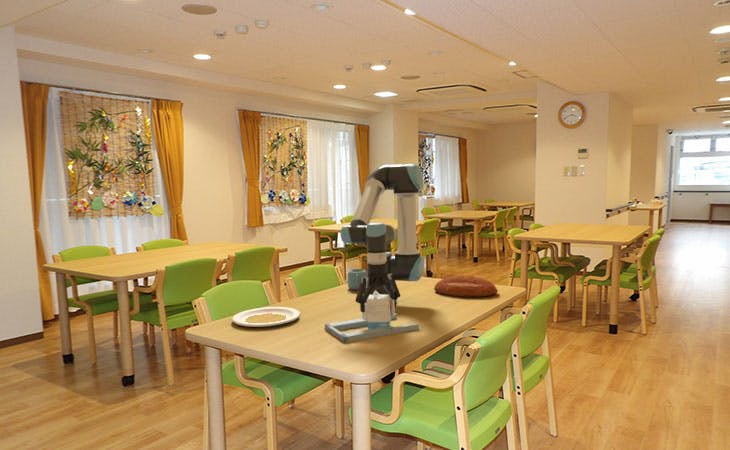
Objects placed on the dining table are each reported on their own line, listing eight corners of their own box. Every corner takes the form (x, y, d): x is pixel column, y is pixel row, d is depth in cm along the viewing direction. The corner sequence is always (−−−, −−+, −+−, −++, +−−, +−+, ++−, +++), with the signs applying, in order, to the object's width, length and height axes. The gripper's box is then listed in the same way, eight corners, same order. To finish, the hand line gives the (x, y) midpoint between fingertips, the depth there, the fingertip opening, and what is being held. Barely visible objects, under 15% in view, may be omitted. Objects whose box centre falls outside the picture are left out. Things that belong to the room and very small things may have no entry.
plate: (275, 308, 234) (275, 303, 234) (313, 319, 214) (313, 313, 214) (220, 321, 214) (220, 316, 214) (256, 334, 194) (256, 328, 194)
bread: (493, 300, 237) (493, 282, 236) (428, 296, 250) (428, 278, 249) (501, 290, 258) (501, 273, 257) (440, 286, 270) (439, 270, 269)
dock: (324, 329, 198) (324, 324, 198) (394, 317, 212) (394, 313, 212) (344, 342, 181) (344, 337, 181) (419, 329, 195) (419, 324, 194)
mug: (368, 292, 261) (367, 273, 260) (346, 292, 261) (346, 273, 260) (368, 286, 276) (367, 268, 275) (348, 286, 276) (347, 268, 275)
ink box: (388, 329, 193) (387, 294, 192) (367, 328, 194) (365, 294, 193) (391, 322, 201) (390, 289, 200) (370, 322, 203) (369, 289, 201)
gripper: (353, 267, 187) (355, 324, 189) (408, 260, 197) (409, 315, 199) (345, 264, 194) (347, 320, 196) (398, 258, 204) (400, 311, 206)
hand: (378, 317), depth 198 cm, fingers closed on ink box, 11 cm apart
